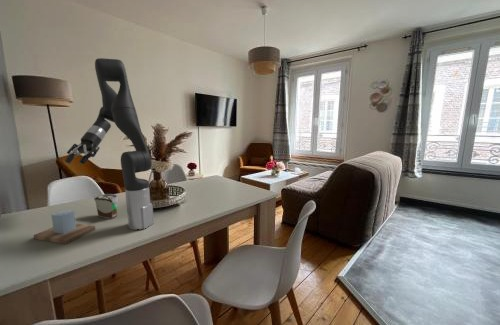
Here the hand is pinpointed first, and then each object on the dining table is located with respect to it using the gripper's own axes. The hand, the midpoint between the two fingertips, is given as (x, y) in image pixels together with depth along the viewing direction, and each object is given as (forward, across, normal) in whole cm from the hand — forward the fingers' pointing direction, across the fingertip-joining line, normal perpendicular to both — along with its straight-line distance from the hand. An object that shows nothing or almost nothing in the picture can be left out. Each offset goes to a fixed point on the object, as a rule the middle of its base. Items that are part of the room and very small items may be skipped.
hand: (74, 162), depth 102 cm
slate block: (+28, +10, +8) cm, 31 cm away
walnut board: (+29, +10, +8) cm, 32 cm away
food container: (+15, +12, +23) cm, 30 cm away
